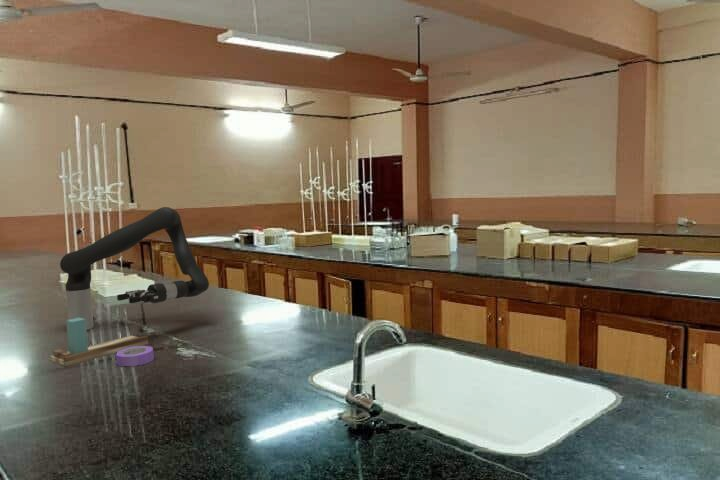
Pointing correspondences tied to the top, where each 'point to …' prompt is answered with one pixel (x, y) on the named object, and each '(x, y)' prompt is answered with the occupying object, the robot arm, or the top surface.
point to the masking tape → (135, 356)
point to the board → (97, 350)
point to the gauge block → (77, 335)
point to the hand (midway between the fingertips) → (123, 299)
